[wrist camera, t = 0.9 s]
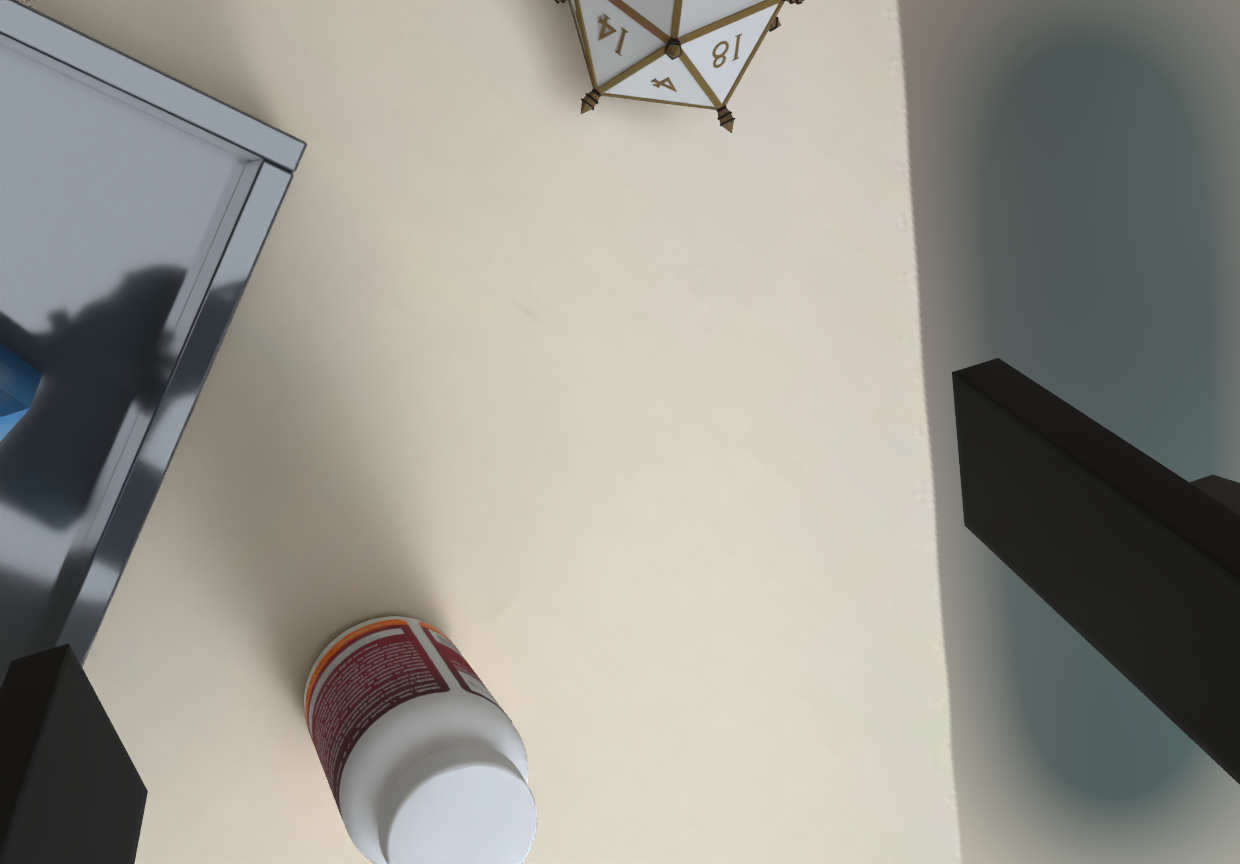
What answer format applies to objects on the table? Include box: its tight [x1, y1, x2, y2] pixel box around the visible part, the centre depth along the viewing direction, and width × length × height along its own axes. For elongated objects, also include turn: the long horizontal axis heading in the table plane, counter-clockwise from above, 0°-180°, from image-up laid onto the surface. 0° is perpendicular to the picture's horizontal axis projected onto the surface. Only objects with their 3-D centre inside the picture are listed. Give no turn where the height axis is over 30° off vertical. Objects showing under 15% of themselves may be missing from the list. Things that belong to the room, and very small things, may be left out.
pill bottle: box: [304, 616, 537, 864], centre depth 39 cm, size 6×6×11 cm
